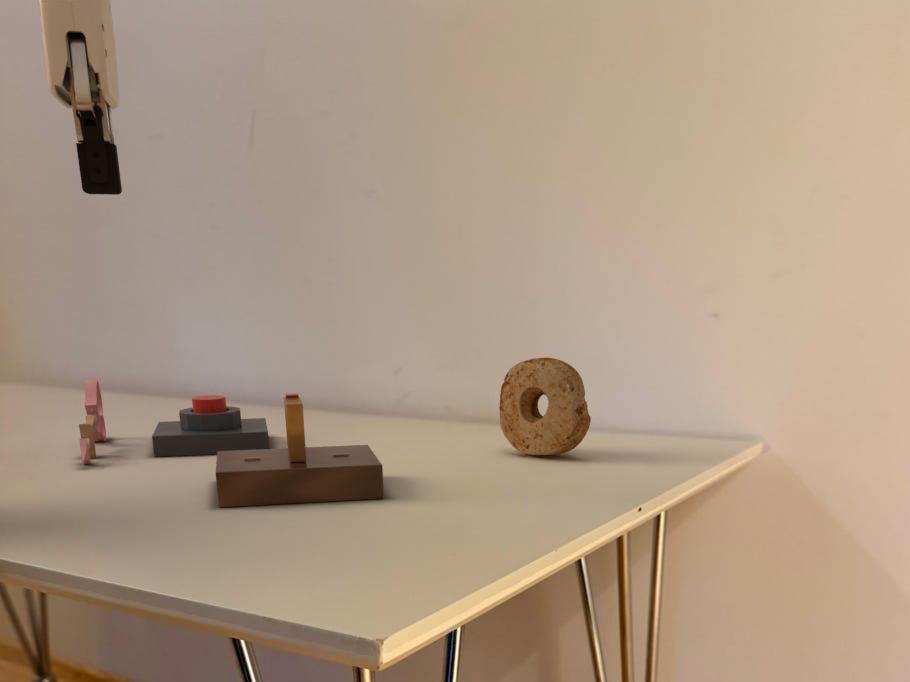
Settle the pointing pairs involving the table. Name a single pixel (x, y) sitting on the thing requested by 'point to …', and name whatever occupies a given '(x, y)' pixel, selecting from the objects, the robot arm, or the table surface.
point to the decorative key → (92, 422)
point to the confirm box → (209, 433)
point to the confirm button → (209, 404)
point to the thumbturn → (295, 428)
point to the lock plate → (298, 476)
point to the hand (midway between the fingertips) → (102, 193)
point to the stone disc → (563, 414)
